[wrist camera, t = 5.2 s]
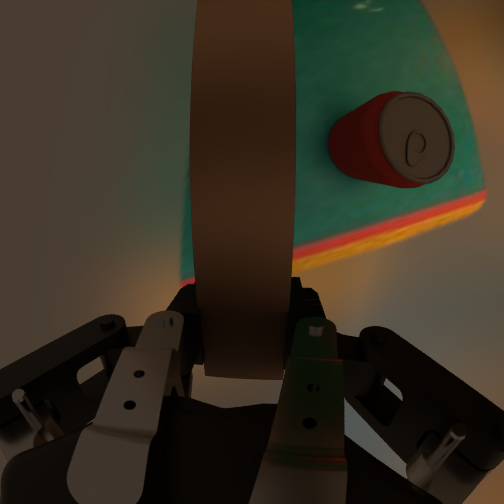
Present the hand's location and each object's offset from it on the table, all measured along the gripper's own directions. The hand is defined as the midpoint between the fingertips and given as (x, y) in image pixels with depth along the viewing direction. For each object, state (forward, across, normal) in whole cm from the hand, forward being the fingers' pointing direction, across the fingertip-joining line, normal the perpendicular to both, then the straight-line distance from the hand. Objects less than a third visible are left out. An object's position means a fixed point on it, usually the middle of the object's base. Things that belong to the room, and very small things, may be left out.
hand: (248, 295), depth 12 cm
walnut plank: (+1, 0, -7) cm, 7 cm away
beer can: (+15, -10, -8) cm, 20 cm away
